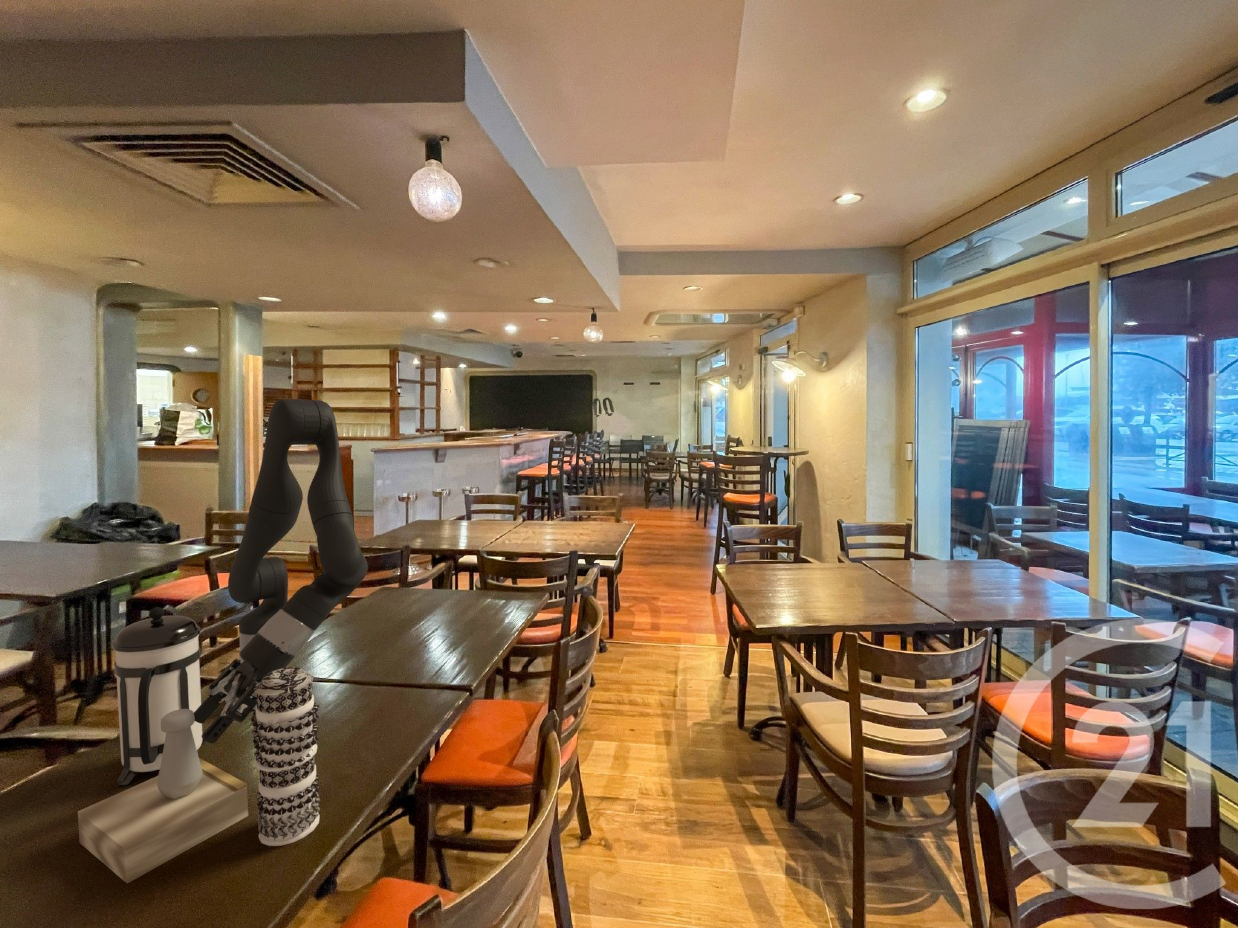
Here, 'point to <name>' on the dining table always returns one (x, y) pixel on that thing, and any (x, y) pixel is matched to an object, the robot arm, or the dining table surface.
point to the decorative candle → (286, 756)
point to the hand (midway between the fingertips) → (201, 730)
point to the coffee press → (154, 685)
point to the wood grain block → (160, 822)
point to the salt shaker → (179, 756)
